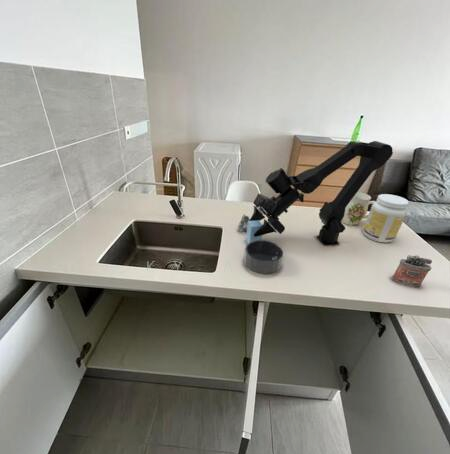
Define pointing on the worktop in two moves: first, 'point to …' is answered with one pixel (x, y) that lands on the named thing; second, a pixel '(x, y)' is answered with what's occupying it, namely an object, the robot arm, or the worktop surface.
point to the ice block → (253, 231)
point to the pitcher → (357, 208)
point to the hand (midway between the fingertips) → (250, 230)
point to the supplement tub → (385, 218)
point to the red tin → (412, 271)
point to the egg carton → (243, 223)
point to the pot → (263, 257)
